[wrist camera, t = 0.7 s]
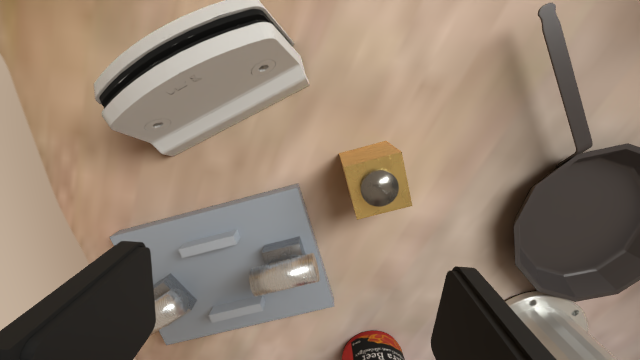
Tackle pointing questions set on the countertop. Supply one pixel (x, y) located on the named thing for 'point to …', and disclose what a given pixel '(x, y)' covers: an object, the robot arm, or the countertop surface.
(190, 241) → the board
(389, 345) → the canned food
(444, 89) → the countertop surface
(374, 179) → the coupler
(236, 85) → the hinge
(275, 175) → the countertop surface
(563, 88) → the frying pan
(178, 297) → the shaft
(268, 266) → the shaft
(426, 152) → the countertop surface
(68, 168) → the countertop surface
